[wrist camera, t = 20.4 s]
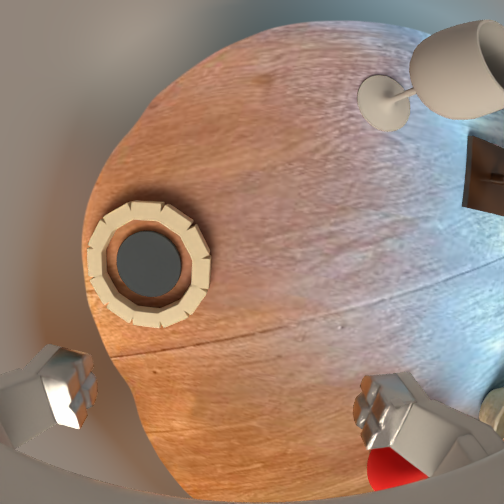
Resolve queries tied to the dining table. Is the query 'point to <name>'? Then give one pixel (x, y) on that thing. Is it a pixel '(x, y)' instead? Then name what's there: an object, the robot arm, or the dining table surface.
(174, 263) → the coaster
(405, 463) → the tomato
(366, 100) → the wineglass
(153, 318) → the hoop
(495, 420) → the bowl
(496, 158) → the rack
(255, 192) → the dining table surface
